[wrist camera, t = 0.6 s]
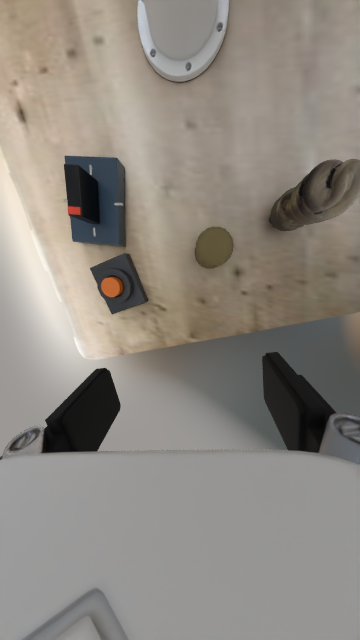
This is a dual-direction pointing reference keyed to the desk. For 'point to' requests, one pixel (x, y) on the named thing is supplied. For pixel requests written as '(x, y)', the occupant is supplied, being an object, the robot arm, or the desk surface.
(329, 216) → the brown ridged cylinder
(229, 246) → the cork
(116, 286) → the button
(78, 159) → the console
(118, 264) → the button box
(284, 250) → the desk surface
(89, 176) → the black box red end
